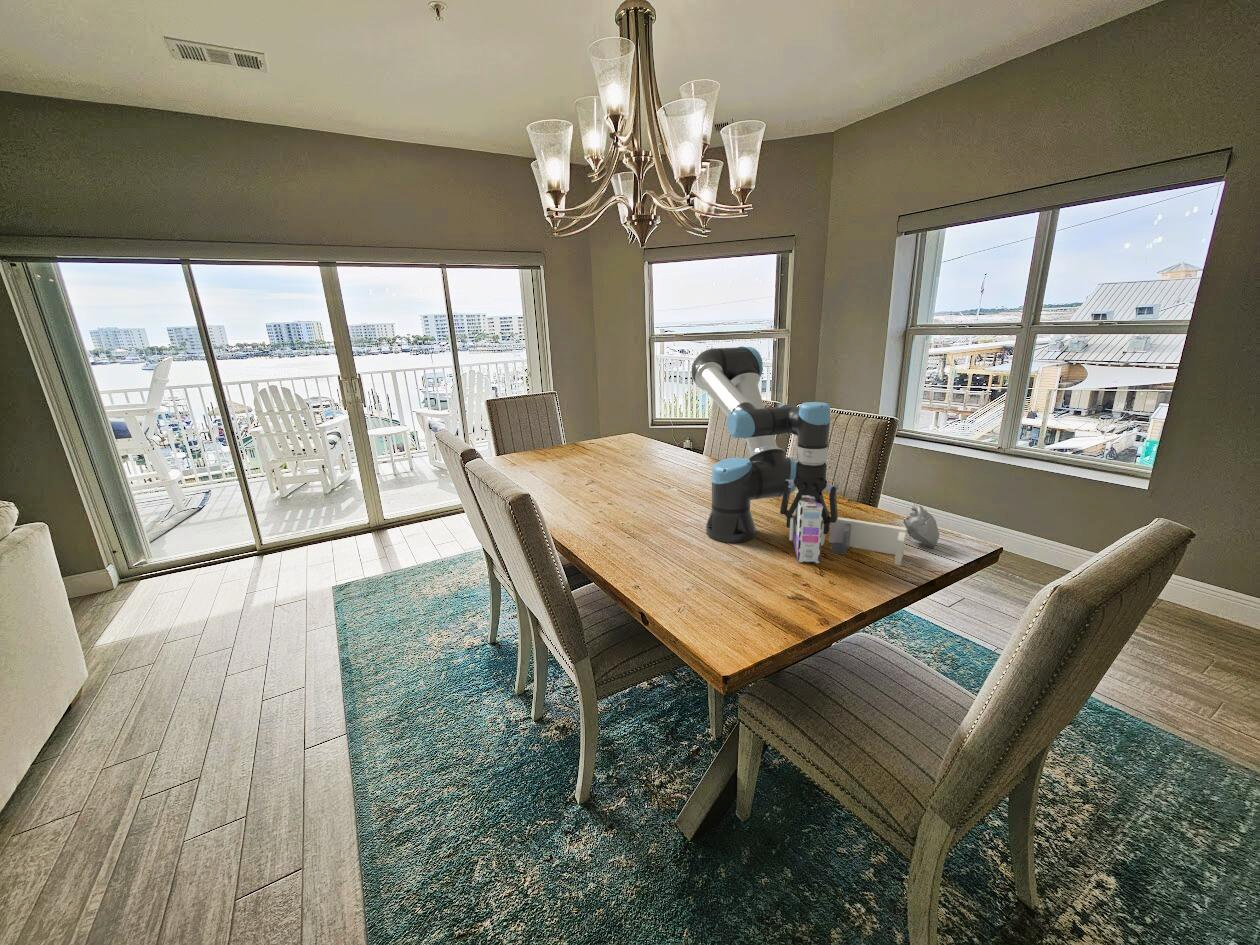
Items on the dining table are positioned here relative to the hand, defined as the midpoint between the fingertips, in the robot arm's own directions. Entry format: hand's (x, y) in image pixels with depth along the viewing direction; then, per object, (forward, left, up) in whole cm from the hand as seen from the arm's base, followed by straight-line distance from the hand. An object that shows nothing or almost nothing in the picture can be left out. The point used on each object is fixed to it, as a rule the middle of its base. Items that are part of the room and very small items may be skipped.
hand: (806, 541), depth 133 cm
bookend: (+7, +8, -4) cm, 12 cm away
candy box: (0, +1, -4) cm, 5 cm away
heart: (+27, +21, -4) cm, 34 cm away
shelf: (+13, +9, -4) cm, 17 cm away
